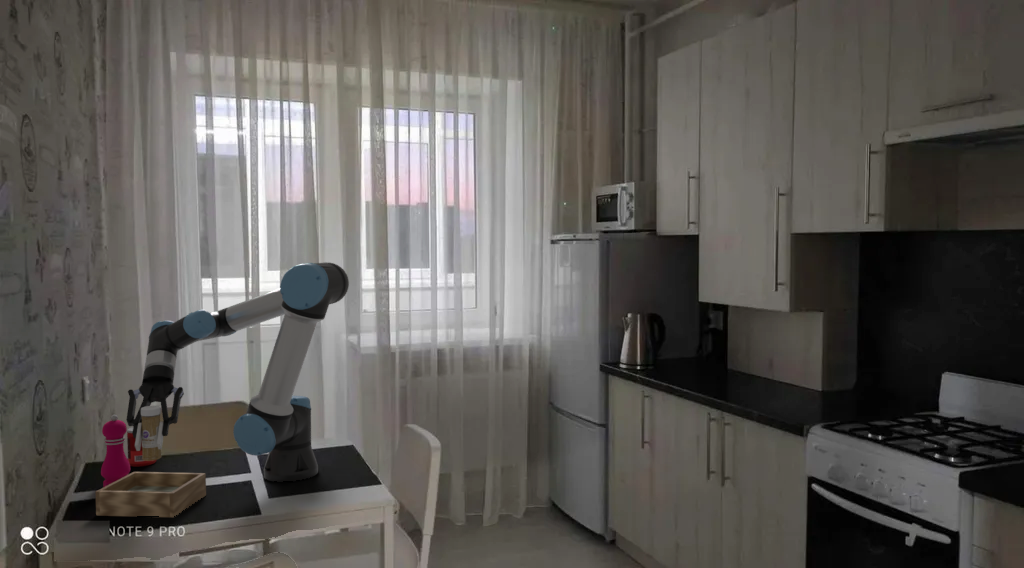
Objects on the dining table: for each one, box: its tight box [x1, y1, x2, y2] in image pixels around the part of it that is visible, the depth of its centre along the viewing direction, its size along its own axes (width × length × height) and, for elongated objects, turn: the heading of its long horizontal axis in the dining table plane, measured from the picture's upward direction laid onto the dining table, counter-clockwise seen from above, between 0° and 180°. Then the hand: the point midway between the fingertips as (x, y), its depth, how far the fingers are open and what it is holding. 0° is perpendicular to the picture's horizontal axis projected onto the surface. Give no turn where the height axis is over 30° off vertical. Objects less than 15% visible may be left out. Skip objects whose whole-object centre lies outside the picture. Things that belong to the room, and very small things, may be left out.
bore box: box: [95, 471, 207, 518], centre depth 187 cm, size 20×16×6 cm
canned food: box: [126, 426, 157, 468], centre depth 224 cm, size 8×8×11 cm
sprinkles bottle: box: [141, 405, 163, 461], centre depth 187 cm, size 5×5×13 cm
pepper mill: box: [100, 414, 131, 488], centre depth 202 cm, size 7×7×20 cm
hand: (148, 447), depth 183 cm, fingers closed on sprinkles bottle, 4 cm apart
